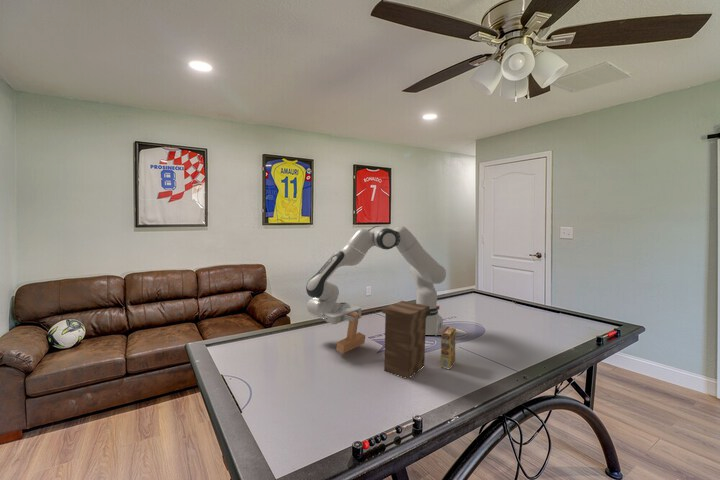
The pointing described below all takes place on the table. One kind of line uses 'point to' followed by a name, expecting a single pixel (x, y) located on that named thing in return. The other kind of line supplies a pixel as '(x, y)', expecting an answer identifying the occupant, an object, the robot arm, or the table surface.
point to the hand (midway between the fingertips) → (357, 317)
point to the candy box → (448, 347)
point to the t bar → (351, 336)
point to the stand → (404, 338)
